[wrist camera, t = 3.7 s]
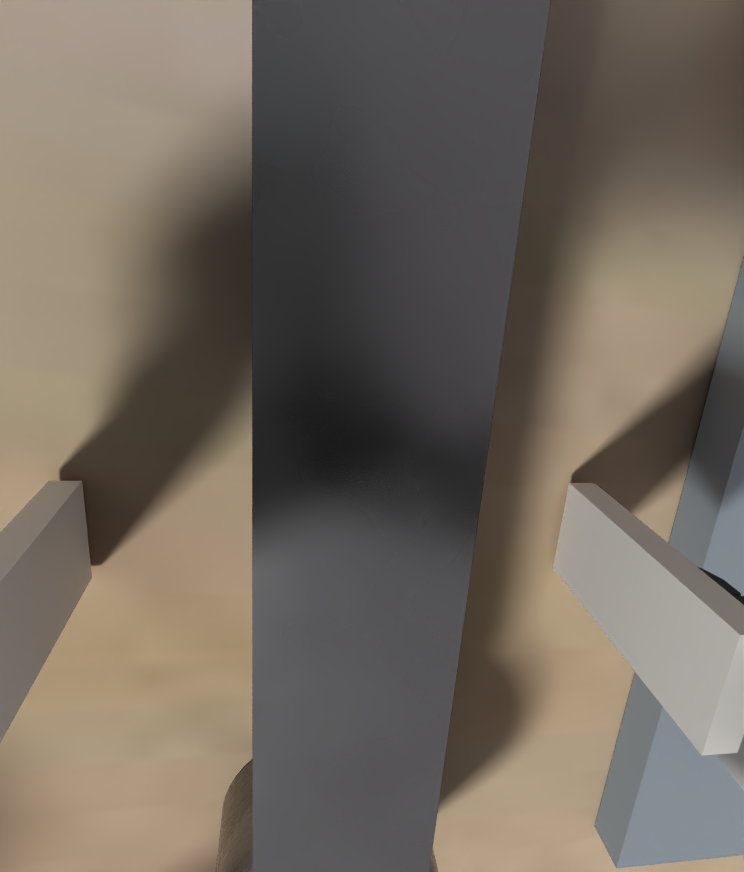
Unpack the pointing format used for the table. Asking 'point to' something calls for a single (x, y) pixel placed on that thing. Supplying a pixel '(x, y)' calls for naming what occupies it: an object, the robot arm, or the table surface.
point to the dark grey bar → (371, 404)
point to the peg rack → (644, 715)
